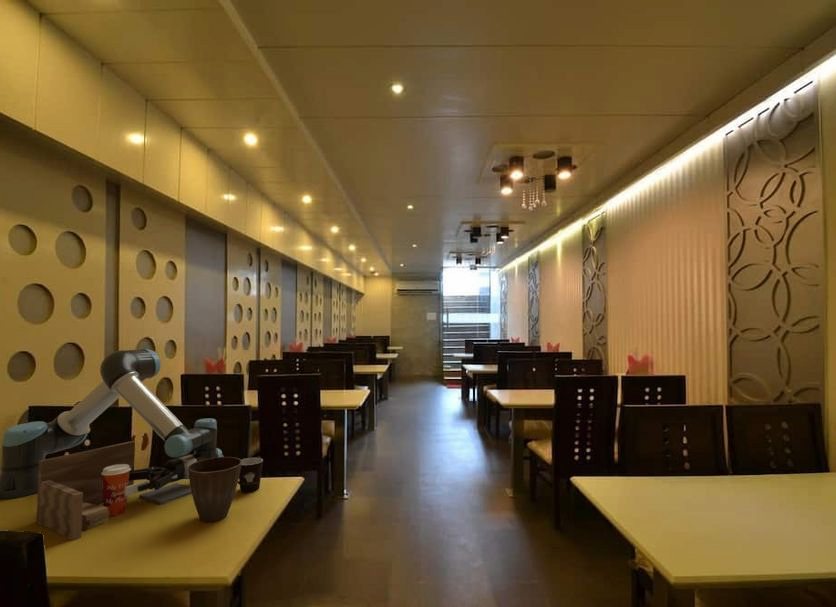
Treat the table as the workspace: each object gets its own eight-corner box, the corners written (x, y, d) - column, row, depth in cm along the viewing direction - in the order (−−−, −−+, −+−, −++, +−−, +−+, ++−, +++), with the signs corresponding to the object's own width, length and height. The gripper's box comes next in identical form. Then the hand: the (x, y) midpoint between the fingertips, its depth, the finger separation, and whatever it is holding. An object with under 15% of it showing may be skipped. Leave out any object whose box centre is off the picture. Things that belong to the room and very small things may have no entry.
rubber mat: (139, 497, 146) (139, 494, 146) (176, 485, 157) (176, 482, 157) (160, 504, 139) (160, 501, 139) (198, 491, 151) (198, 489, 151)
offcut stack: (56, 526, 125) (56, 510, 125) (80, 516, 131) (81, 501, 132) (86, 531, 121) (87, 515, 121) (109, 521, 128) (110, 506, 128)
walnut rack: (36, 521, 127) (39, 460, 128) (130, 492, 150) (132, 441, 151) (72, 540, 116) (75, 472, 117) (168, 506, 138) (170, 449, 139)
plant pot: (251, 510, 134) (252, 458, 135) (215, 531, 120) (216, 473, 121) (213, 504, 139) (214, 455, 140) (174, 524, 125) (176, 469, 126)
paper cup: (106, 519, 128) (108, 472, 129) (95, 514, 132) (96, 468, 133) (134, 510, 135) (136, 465, 136) (123, 505, 139) (124, 461, 140)
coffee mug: (266, 485, 156) (267, 457, 157) (255, 494, 147) (256, 465, 148) (236, 484, 157) (237, 457, 158) (223, 493, 149) (224, 464, 149)
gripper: (201, 485, 145) (134, 508, 127) (159, 473, 158) (93, 492, 139) (201, 463, 146) (135, 482, 127) (160, 453, 158) (94, 469, 140)
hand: (113, 487), depth 133 cm, fingers open, 13 cm apart
